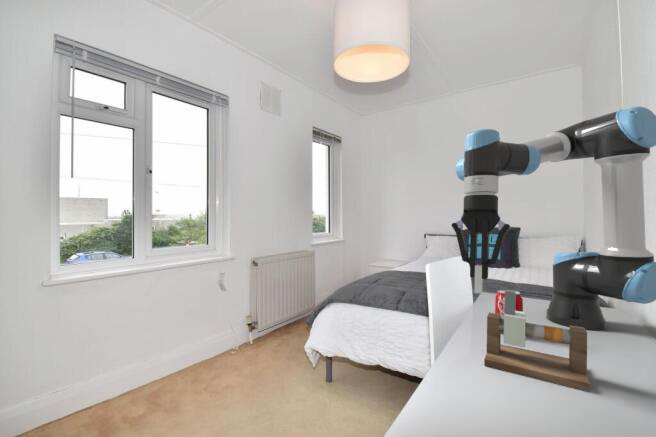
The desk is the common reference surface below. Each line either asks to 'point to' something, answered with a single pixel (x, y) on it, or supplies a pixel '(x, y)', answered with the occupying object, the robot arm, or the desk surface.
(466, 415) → the desk surface
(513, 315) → the collar
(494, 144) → the robot arm
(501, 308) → the soda can
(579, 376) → the pipe rig
